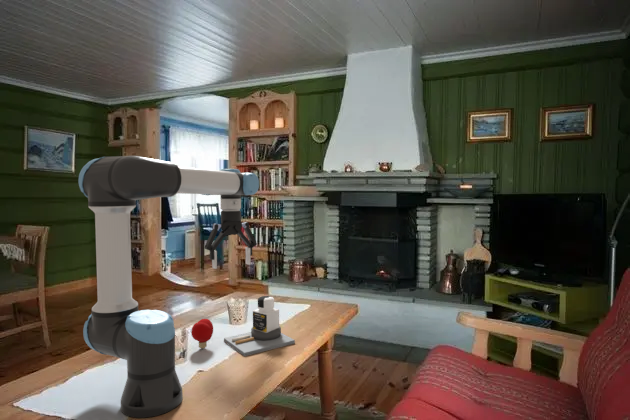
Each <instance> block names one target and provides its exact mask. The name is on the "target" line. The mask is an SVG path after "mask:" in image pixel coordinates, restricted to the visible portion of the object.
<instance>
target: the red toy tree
mask: <svg viewBox="0 0 630 420" xmlns="http://www.w3.org/2000/svg"><path fill="white" fill-rule="evenodd" d="M190 333H191V336H192V338H193V339H194V341H197V342H198V348H199V349H201V350H205V348H207V343H208V341H210V340H211V339H212V336H213V334H214V325H213V322H212V321H211V319H209V318H201V319H199V320H198V321H197V322H195V323H194V324H193V325H192V327H191V330H190Z"/></svg>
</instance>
